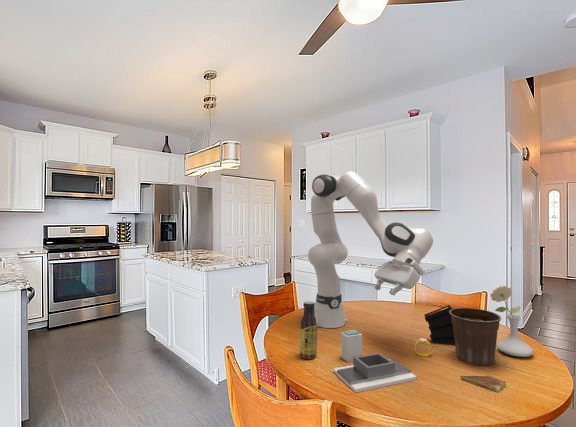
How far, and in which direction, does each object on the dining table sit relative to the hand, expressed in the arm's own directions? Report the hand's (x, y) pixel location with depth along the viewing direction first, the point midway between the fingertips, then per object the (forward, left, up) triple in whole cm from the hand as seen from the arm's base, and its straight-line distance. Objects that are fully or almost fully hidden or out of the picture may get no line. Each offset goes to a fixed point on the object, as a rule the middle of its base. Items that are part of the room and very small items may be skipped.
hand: (383, 291), depth 124 cm
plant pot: (+16, +27, -23) cm, 39 cm away
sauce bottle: (-7, -28, -23) cm, 37 cm away
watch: (+7, +12, -23) cm, 27 cm away
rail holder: (+14, -14, -23) cm, 30 cm away
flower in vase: (+17, +44, -23) cm, 53 cm away
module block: (0, -14, -23) cm, 27 cm away
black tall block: (0, +28, -23) cm, 36 cm away
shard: (+31, +14, -24) cm, 41 cm away
